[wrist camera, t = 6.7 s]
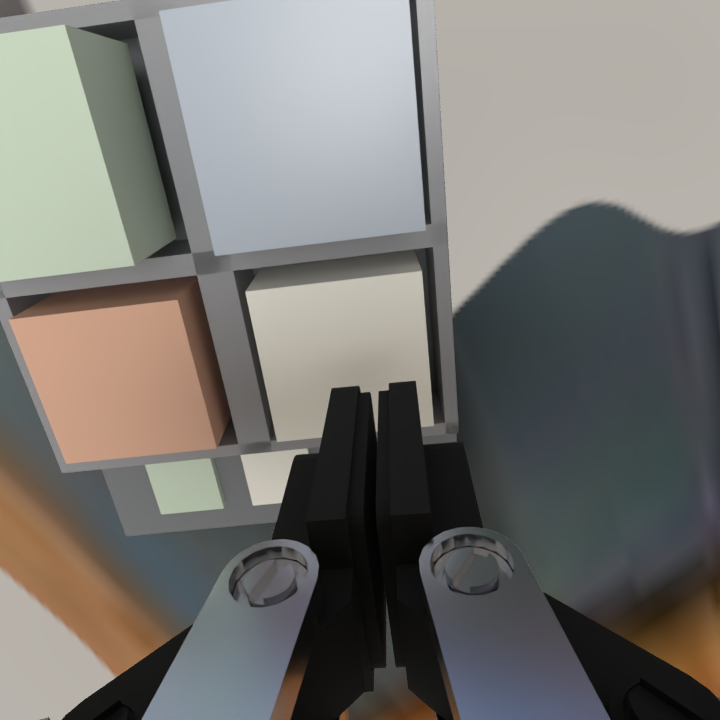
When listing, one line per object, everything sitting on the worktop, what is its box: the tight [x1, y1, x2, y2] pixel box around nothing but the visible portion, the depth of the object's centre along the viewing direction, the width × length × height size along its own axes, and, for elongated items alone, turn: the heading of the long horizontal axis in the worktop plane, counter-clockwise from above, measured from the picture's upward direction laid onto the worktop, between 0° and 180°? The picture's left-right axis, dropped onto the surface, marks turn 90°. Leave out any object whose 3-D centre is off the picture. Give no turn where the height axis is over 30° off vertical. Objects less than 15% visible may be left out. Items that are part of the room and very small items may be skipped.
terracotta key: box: [9, 275, 231, 464], centre depth 17 cm, size 5×5×3 cm
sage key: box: [0, 25, 176, 282], centre depth 13 cm, size 5×5×3 cm
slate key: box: [159, 0, 426, 256], centre depth 12 cm, size 5×5×3 cm
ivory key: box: [245, 249, 434, 442], centre depth 17 cm, size 5×5×3 cm
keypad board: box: [0, 0, 459, 536], centre depth 17 cm, size 13×17×4 cm
